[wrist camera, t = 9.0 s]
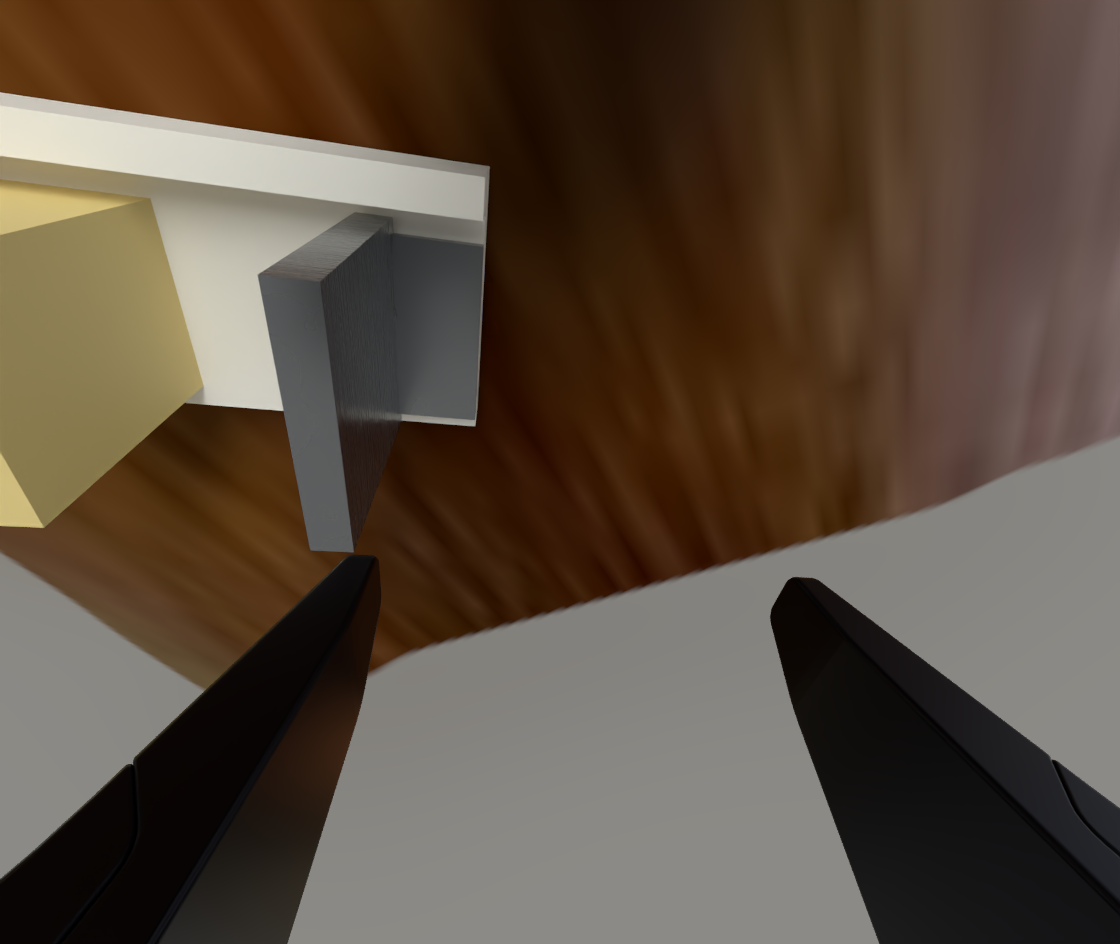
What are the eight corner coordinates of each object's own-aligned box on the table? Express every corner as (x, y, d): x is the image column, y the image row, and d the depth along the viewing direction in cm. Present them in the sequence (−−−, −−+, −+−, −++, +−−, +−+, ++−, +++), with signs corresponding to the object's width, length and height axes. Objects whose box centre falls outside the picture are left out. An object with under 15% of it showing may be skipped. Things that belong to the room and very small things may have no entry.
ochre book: (149, 198, 14) (-110, 262, 8) (203, 385, 17) (43, 527, 11) (-22, 176, 13) (-432, 227, 7) (66, 374, 16) (-175, 517, 11)
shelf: (489, 166, 15) (475, 200, 9) (477, 406, 20) (462, 528, 14) (-346, 40, 12) (-1083, -19, 7) (-136, 353, 17) (-468, 478, 11)
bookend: (484, 229, 14) (467, 298, 9) (474, 425, 18) (458, 557, 13) (355, 212, 14) (257, 275, 9) (371, 417, 18) (310, 550, 12)
